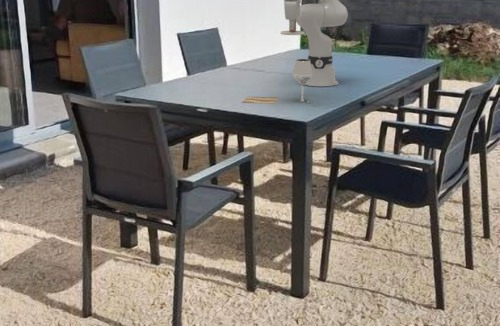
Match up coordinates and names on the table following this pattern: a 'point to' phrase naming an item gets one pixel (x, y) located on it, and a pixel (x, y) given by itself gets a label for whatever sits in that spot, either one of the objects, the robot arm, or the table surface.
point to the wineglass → (302, 73)
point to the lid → (292, 31)
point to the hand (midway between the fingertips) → (292, 29)
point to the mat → (261, 100)
